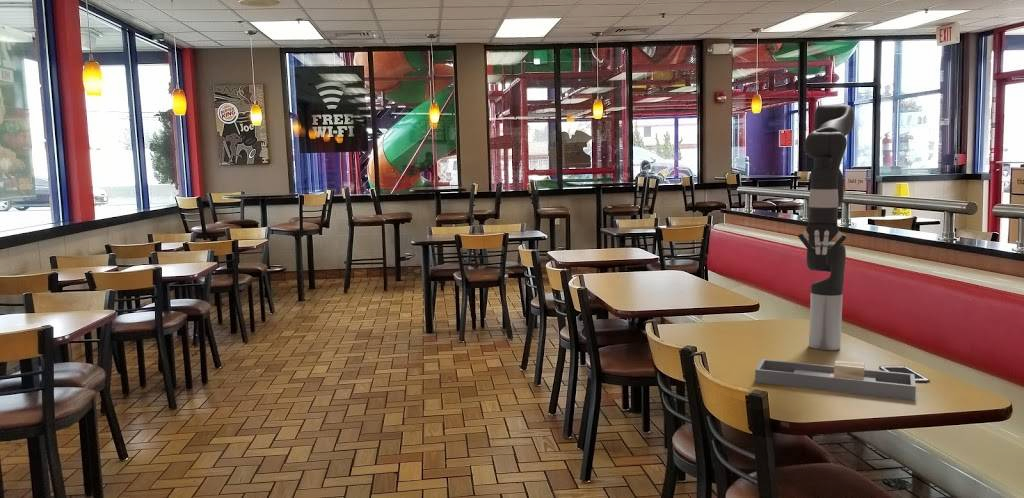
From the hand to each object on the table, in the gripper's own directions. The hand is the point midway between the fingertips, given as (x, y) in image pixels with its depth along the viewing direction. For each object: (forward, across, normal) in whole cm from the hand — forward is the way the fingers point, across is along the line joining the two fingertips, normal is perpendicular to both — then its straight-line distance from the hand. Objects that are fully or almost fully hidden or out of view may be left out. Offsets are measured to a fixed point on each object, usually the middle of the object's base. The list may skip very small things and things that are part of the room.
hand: (820, 267), depth 216 cm
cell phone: (+30, -22, -4) cm, 37 cm away
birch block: (+27, -9, +14) cm, 32 cm away
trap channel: (+29, -5, +14) cm, 33 cm away
